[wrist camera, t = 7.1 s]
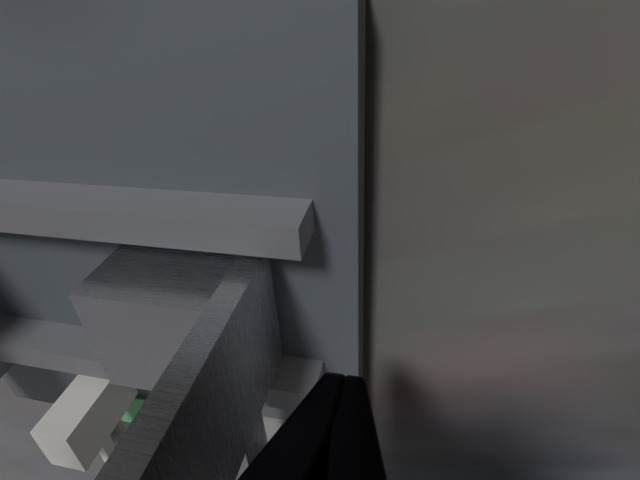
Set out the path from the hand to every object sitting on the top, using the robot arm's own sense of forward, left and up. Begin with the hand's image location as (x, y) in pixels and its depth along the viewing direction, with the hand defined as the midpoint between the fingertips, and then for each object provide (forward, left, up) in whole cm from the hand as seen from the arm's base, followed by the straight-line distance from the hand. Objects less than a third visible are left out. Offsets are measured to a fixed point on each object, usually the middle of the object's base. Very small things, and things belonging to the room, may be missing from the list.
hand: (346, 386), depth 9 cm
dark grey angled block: (+4, +1, -2) cm, 5 cm away
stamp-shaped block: (+8, +5, -2) cm, 10 cm away
